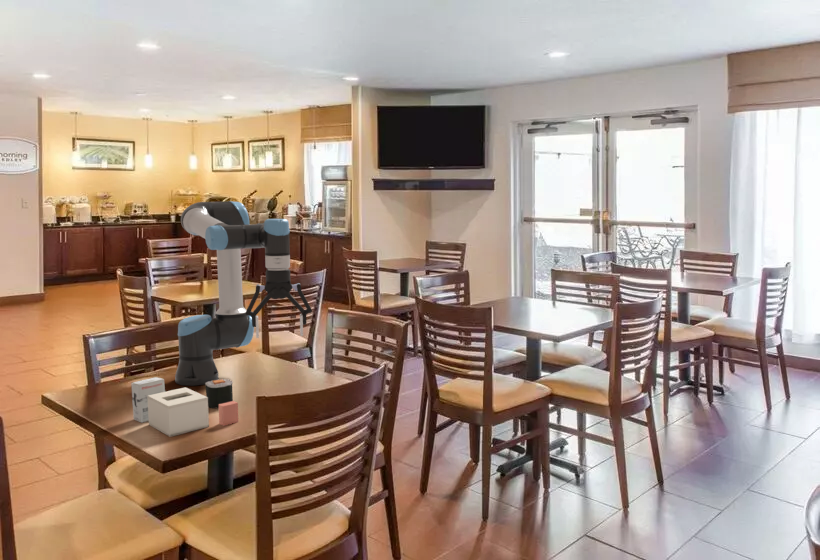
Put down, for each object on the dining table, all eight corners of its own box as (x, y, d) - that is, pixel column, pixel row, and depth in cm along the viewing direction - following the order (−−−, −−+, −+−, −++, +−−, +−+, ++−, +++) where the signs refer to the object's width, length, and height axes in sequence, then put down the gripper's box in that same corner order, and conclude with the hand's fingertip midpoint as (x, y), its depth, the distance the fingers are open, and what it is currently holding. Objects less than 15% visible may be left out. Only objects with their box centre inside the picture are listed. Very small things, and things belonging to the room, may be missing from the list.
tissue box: (148, 424, 206) (147, 395, 204) (186, 415, 214) (185, 387, 213) (170, 436, 196) (168, 406, 195) (208, 426, 204) (207, 397, 203)
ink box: (158, 412, 217) (156, 375, 215) (167, 415, 214) (165, 378, 212) (132, 419, 210) (130, 381, 209) (141, 423, 207) (138, 384, 206)
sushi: (236, 405, 224) (235, 381, 223) (210, 409, 219) (209, 385, 218) (228, 398, 231) (227, 375, 230) (203, 403, 226) (202, 379, 225)
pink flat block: (219, 423, 207) (218, 404, 206) (234, 419, 210) (233, 400, 209) (223, 425, 205) (222, 406, 204) (238, 421, 208) (237, 402, 207)
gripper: (236, 271, 208) (238, 340, 211) (319, 269, 213) (320, 336, 216) (236, 268, 215) (239, 335, 218) (317, 266, 220) (318, 331, 223)
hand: (279, 336), depth 217 cm, fingers open, 13 cm apart
